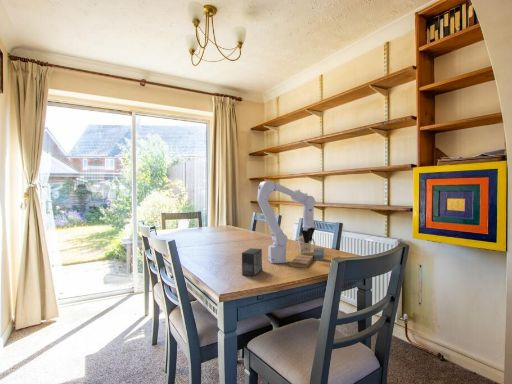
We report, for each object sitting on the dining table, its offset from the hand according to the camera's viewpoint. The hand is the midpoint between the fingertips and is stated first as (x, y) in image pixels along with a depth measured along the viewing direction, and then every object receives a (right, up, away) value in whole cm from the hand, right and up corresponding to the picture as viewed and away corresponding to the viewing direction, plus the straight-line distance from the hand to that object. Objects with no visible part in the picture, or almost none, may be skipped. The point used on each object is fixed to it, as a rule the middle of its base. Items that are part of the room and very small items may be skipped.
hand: (308, 241), depth 159 cm
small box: (-31, -11, -24) cm, 40 cm away
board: (-3, -10, -4) cm, 11 cm away
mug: (+2, -10, +16) cm, 19 cm away
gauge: (+2, -10, +1) cm, 10 cm away
